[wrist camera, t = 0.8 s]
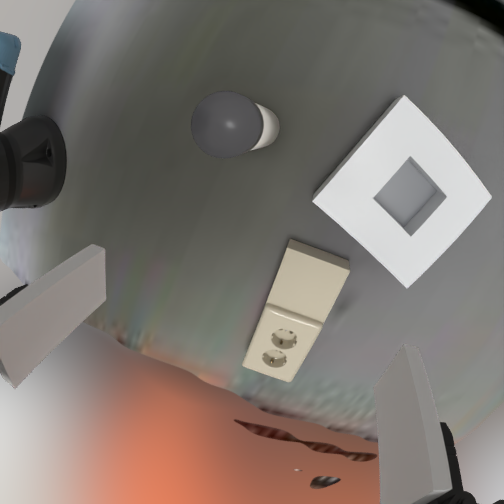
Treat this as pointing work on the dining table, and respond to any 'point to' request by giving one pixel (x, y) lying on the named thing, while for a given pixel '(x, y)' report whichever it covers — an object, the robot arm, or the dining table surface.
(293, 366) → the electrical outlet
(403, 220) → the socket block
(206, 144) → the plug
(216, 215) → the dining table surface
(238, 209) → the dining table surface
